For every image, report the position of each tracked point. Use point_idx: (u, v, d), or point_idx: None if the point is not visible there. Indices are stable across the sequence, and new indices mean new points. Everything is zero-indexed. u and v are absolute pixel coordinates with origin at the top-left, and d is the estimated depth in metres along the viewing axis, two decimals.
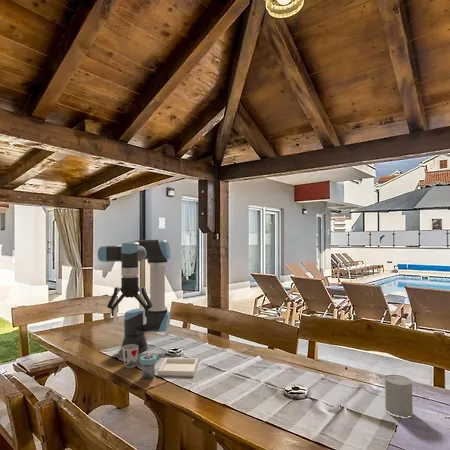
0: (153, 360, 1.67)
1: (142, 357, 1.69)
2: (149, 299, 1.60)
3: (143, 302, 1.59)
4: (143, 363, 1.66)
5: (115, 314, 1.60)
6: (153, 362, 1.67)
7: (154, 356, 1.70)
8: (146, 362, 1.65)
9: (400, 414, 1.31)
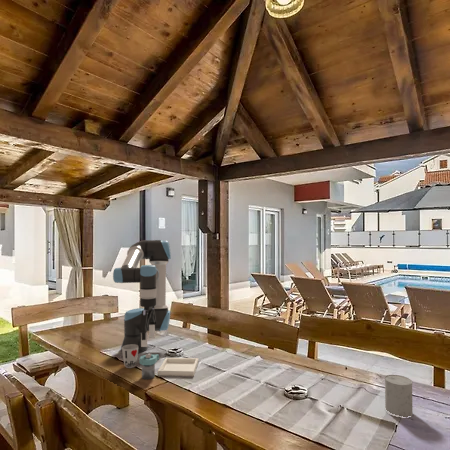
0: (153, 360, 1.67)
1: (142, 357, 1.69)
2: (145, 324, 1.61)
3: None
4: (143, 363, 1.66)
5: (150, 329, 1.76)
6: (153, 362, 1.67)
7: (154, 356, 1.70)
8: (146, 362, 1.65)
9: (400, 414, 1.31)
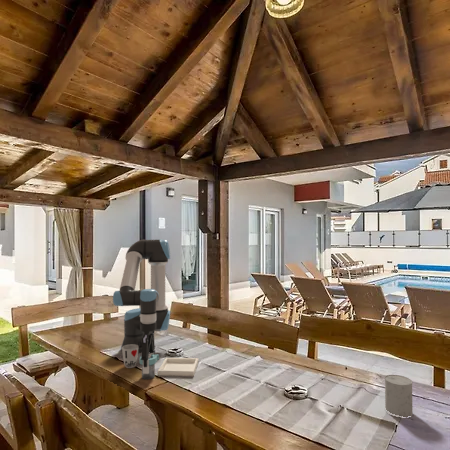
0: (153, 360, 1.67)
1: None
2: (146, 352, 1.62)
3: None
4: None
5: None
6: (153, 362, 1.67)
7: (154, 356, 1.70)
8: None
9: (400, 414, 1.31)
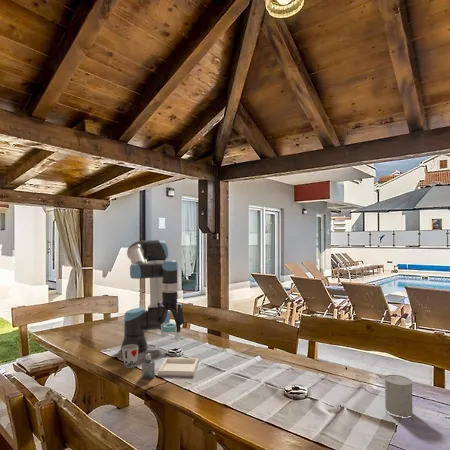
0: None
1: (167, 326, 1.73)
2: None
3: (177, 318, 1.73)
4: (174, 330, 1.73)
5: None
6: None
7: (171, 323, 1.79)
8: None
9: (400, 414, 1.31)
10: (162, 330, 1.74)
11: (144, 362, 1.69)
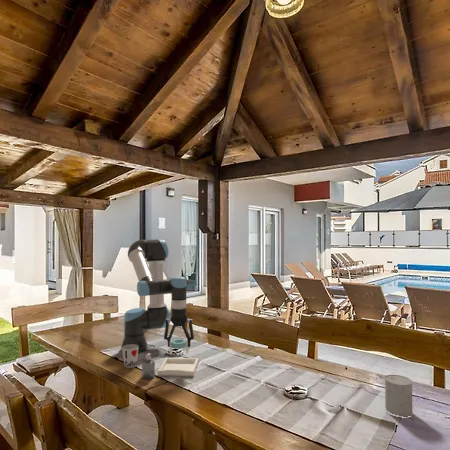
0: None
1: (179, 342, 1.76)
2: None
3: (187, 333, 1.78)
4: None
5: None
6: None
7: (178, 339, 1.81)
8: None
9: (400, 414, 1.31)
10: (173, 347, 1.75)
11: (144, 362, 1.69)
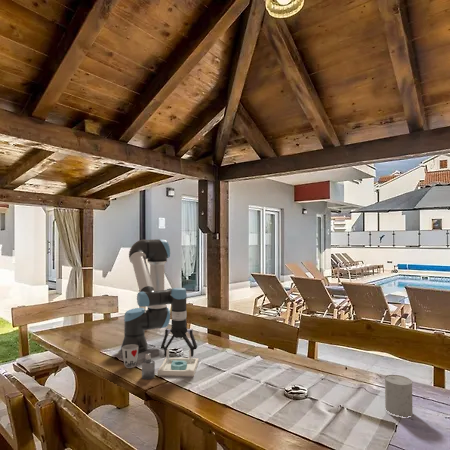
0: None
1: (179, 365, 1.76)
2: None
3: (190, 343, 1.78)
4: (185, 367, 1.77)
5: (168, 354, 1.78)
6: None
7: (178, 361, 1.81)
8: (186, 365, 1.79)
9: (400, 414, 1.31)
10: (173, 369, 1.75)
11: (144, 362, 1.69)
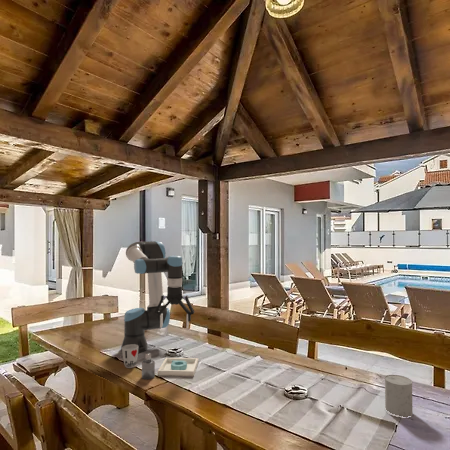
0: None
1: (179, 365, 1.76)
2: (191, 306, 1.82)
3: (186, 308, 1.81)
4: (185, 367, 1.77)
5: (161, 319, 1.81)
6: None
7: (178, 361, 1.81)
8: (186, 365, 1.79)
9: (400, 414, 1.31)
10: (173, 369, 1.75)
11: (144, 362, 1.69)
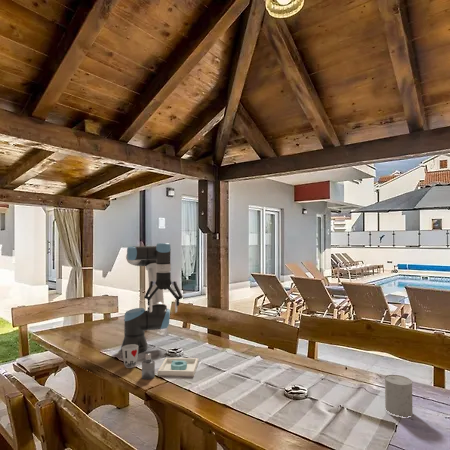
0: None
1: (179, 365, 1.76)
2: None
3: (175, 293, 1.88)
4: (185, 367, 1.77)
5: (151, 304, 1.88)
6: None
7: (178, 361, 1.81)
8: (186, 365, 1.79)
9: (400, 414, 1.31)
10: (173, 369, 1.75)
11: (144, 362, 1.69)
